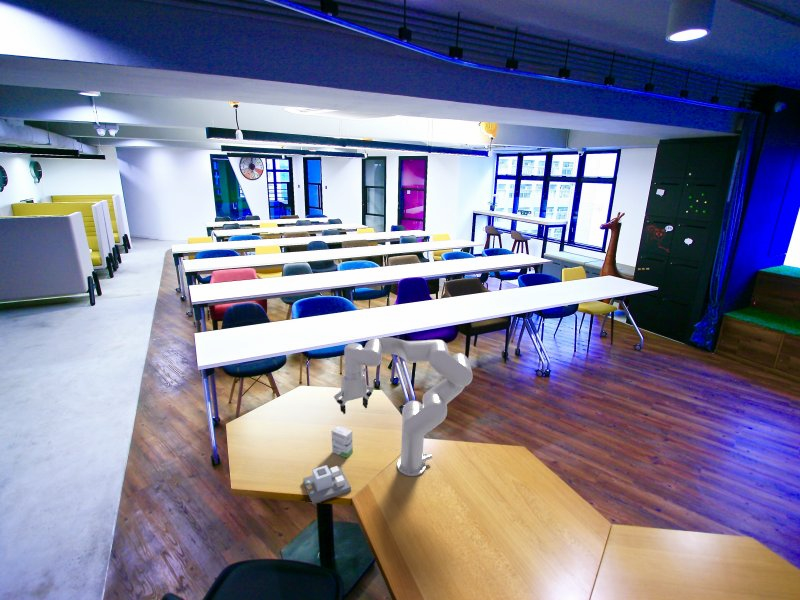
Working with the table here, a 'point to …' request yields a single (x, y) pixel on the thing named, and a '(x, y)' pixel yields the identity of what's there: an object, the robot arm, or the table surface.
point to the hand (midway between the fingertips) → (354, 409)
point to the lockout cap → (322, 478)
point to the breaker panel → (338, 487)
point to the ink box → (342, 441)
